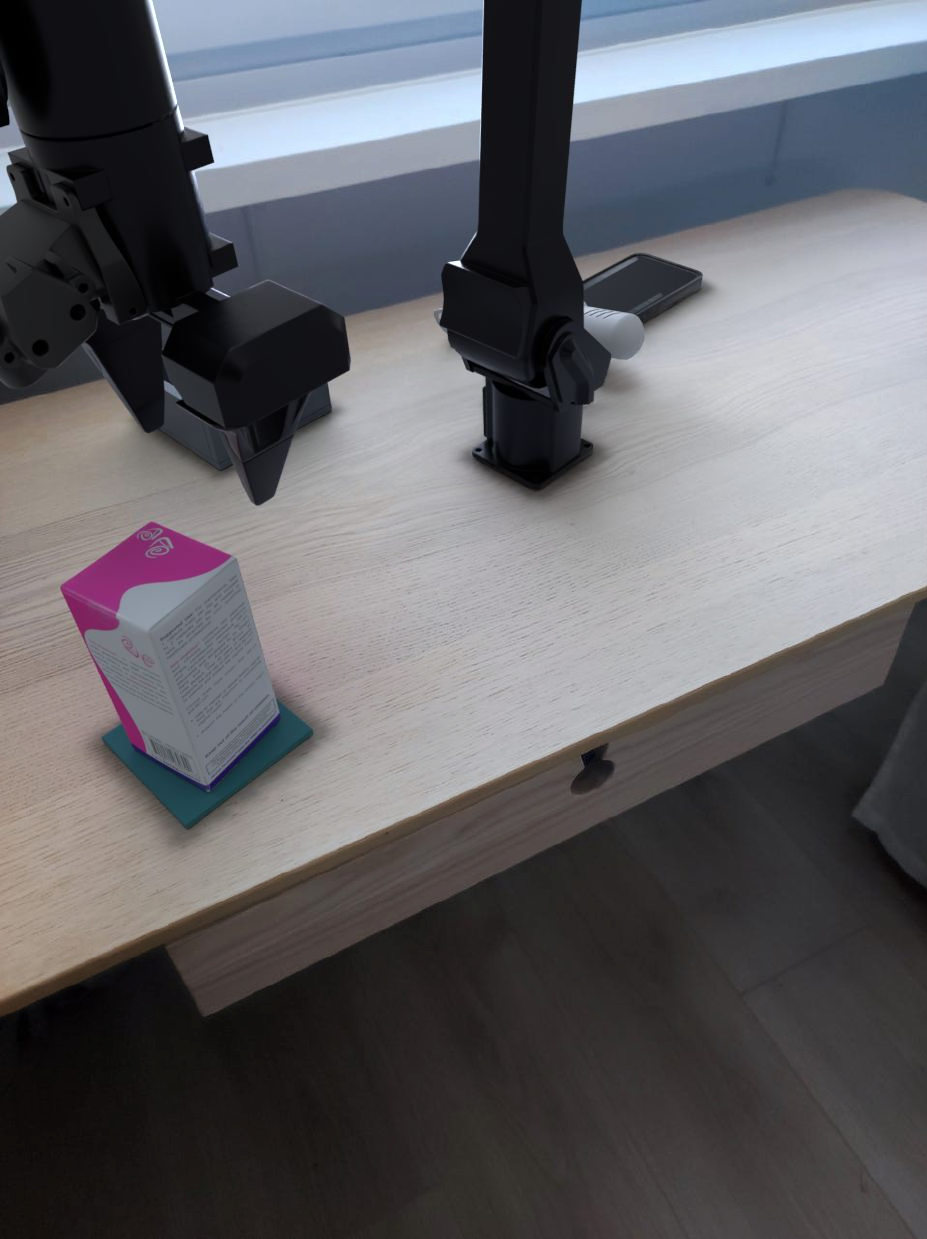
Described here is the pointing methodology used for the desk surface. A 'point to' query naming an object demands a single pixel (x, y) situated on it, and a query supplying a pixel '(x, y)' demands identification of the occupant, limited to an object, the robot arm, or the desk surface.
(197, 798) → the counter mat
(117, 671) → the supplement box
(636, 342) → the clip-on lamp
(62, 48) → the robot arm
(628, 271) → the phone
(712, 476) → the desk surface
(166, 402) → the grey open box
